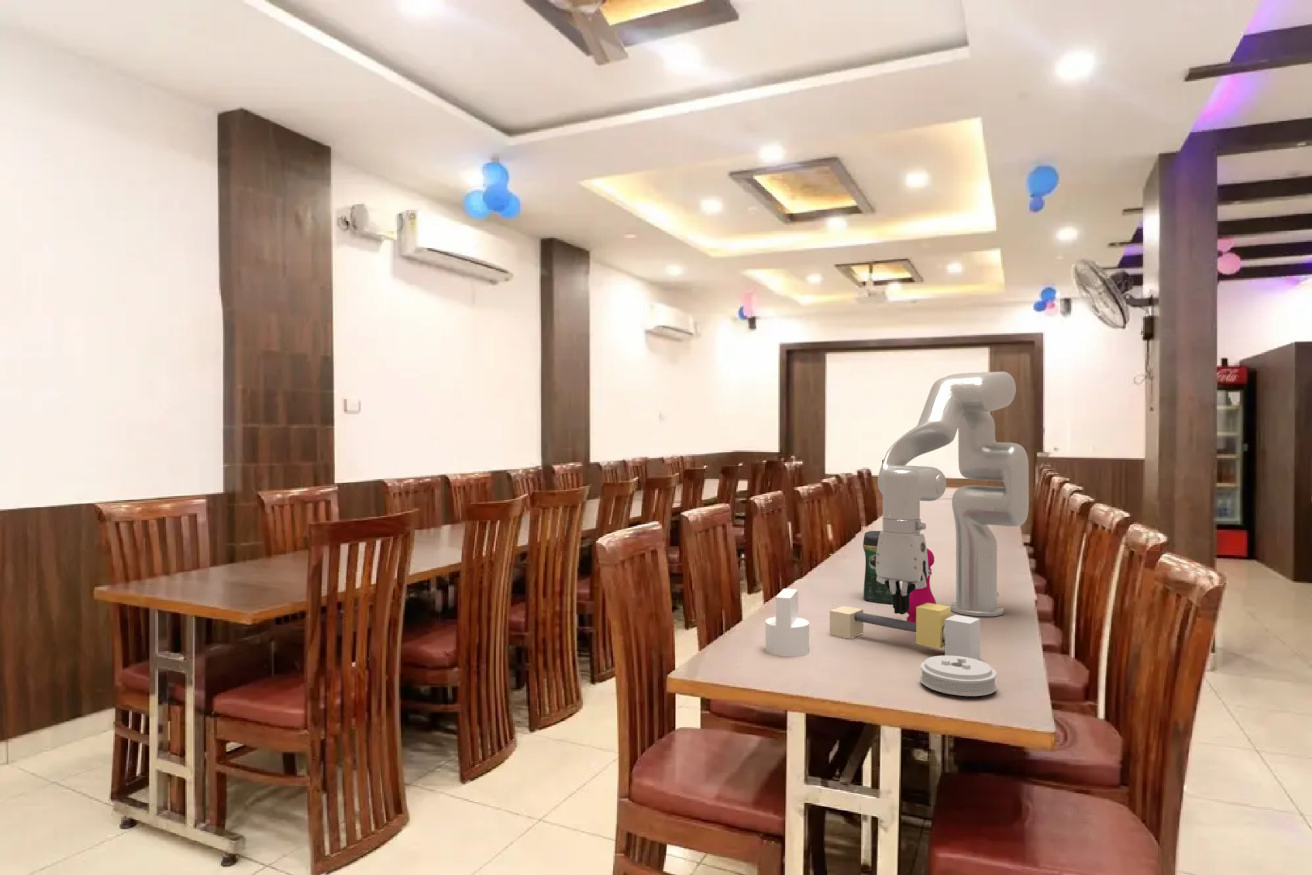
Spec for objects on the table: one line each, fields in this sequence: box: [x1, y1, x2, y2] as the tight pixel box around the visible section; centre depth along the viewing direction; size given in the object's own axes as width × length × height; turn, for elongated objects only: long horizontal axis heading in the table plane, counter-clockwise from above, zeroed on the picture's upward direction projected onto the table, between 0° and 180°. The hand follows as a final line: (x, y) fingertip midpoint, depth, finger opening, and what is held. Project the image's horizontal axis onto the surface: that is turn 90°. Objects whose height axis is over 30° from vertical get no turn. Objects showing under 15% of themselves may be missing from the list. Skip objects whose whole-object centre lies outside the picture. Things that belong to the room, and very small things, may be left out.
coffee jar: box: [862, 530, 893, 604], centre depth 202 cm, size 10×8×19 cm
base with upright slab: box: [765, 588, 810, 658], centre depth 158 cm, size 9×9×12 cm
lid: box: [919, 655, 998, 697], centre depth 135 cm, size 13×13×5 cm
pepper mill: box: [906, 548, 937, 623], centre depth 176 cm, size 7×7×20 cm
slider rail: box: [829, 605, 981, 660], centre depth 160 cm, size 6×31×8 cm, turn 46°
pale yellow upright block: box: [915, 603, 952, 650], centre depth 156 cm, size 5×5×8 cm
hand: (901, 612), depth 160 cm, fingers closed
